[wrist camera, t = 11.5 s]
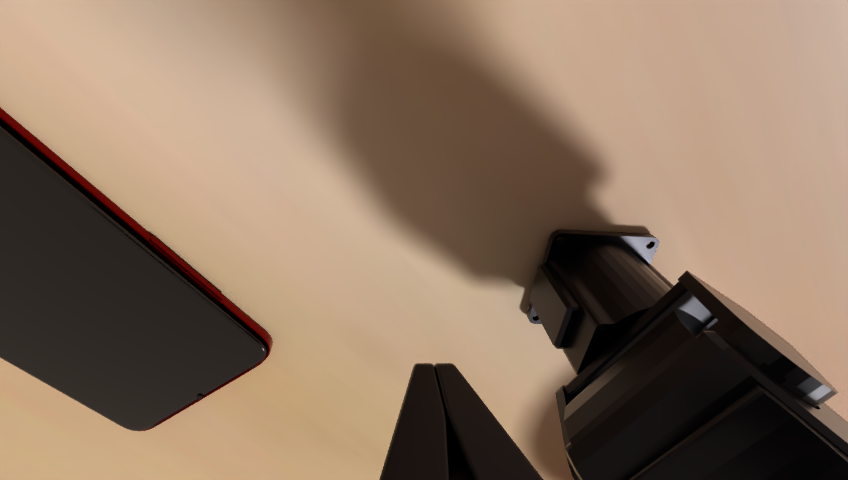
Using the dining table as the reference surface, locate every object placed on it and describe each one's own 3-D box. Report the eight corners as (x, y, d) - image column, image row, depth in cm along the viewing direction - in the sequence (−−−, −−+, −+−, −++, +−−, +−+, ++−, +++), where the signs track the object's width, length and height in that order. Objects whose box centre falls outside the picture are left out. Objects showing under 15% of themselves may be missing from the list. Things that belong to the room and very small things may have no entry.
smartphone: (-290, -117, 12) (280, 356, 24) (-223, -104, 14) (285, 337, 25) (-460, 111, 14) (134, 441, 26) (-388, 103, 16) (146, 420, 27)
